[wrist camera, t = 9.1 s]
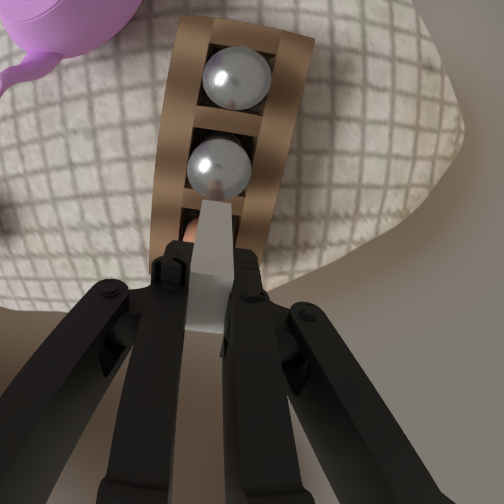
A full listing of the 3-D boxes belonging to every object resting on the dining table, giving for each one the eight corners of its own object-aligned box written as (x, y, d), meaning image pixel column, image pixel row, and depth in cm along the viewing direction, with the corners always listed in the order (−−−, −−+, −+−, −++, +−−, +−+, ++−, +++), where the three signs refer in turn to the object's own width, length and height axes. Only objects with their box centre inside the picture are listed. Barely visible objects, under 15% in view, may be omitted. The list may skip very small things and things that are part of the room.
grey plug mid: (199, 125, 29) (191, 135, 23) (251, 133, 30) (257, 145, 24) (191, 174, 32) (183, 196, 26) (241, 181, 33) (244, 205, 27)
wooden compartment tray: (187, 24, 24) (180, 14, 20) (302, 45, 26) (315, 38, 22) (157, 251, 38) (148, 273, 33) (250, 263, 39) (253, 287, 35)
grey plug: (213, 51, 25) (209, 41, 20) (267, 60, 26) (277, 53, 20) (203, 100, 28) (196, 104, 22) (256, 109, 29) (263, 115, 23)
